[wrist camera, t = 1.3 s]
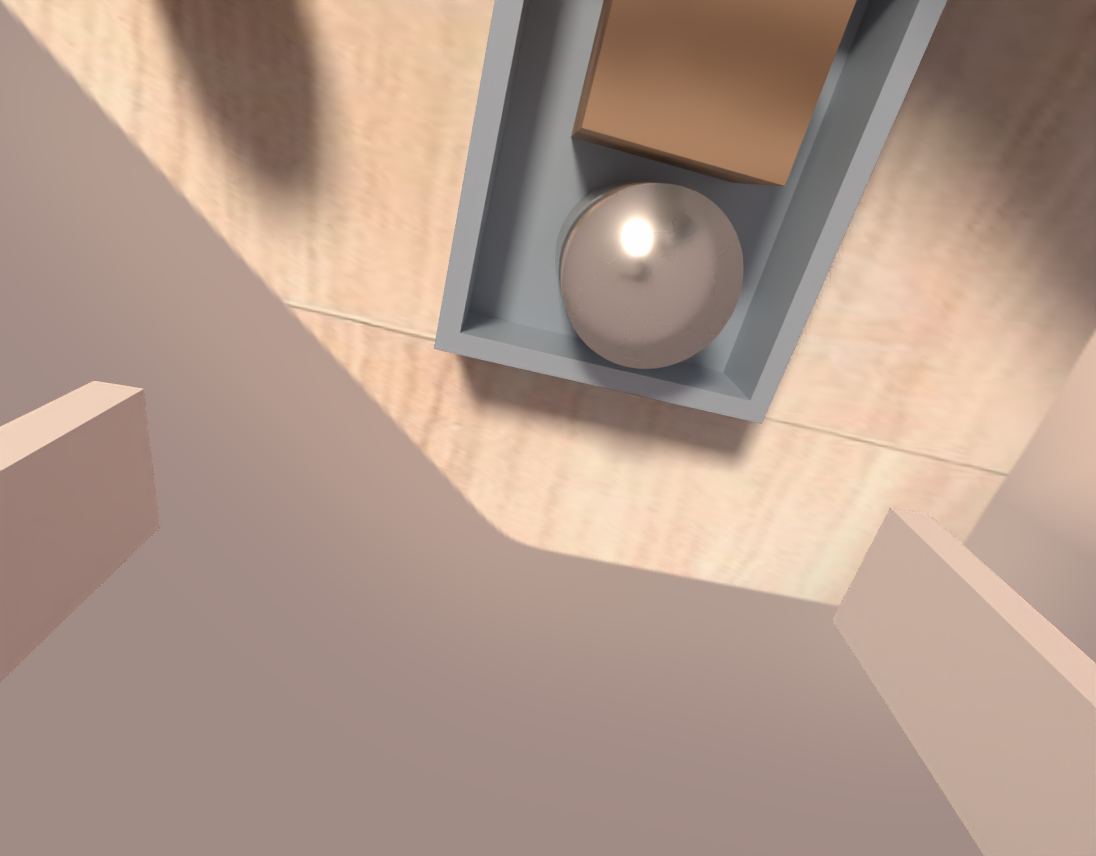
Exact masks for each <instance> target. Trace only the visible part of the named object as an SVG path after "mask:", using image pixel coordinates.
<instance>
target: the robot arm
mask: <svg viewBox="0 0 1096 856" xmlns="http://www.w3.org/2000/svg"><path fill="white" fill-rule="evenodd" d="M159 528H160V525H159V516H158V508H157V499H156V490H155V481H154V473H153V465H152V455H151V447H150V438H149V429H148V421H147V412H146V403H145V394H144V389H142V388H135V387H129V386H123V385H116V384H111V383H104V382H98V381H93V382H91V383H89V384H87V385H85V386H83V387H81V388H79V389H77V390H75V391H72V392H70V393H69V394H66V395H64V396H62V397H60V398H58V399H56V400H54V401H52V402H50V403H48V404H46V405H44V406H42V407H40V408H38V409H36V410H34V411H32V412H30V413H28V414H26V415H23V416H21V417H19V418H17V419H15V420H13V421H11V422H9V423H7V424H5V425H3V426H1V427H0V682H1V681H2V680H3V679H4V678H5V677H6V676H7V675H8V674H9V673H10V672H11V671H12V670H13V669H14V668H15V667H16V666H17V665H18V664H20V662H21V661H23V660H24V659H25V658H26V657H27V656H28V655H29V654H30V653H31V652H32V651H33V650H34V649H35V648H36V647H37V646H38V645H39V644H40V643H41V642H42V641H43V640H44V639H45V638H46V637H47V636H48V635H49V634H51V633H52V632H53V631H54V629H56V628H57V626H59V625H60V624H61V623H62V622H63V621H64V620H65V619H66V618H67V617H68V616H69V615H70V614H71V613H72V612H73V611H74V610H75V609H76V608H77V607H78V606H79V605H81V604H82V603H83V602H84V601H85V600H86V599H87V598H88V597H89V596H90V595H91V594H92V593H93V592H94V591H95V590H96V589H97V588H98V587H99V586H100V585H101V584H102V583H103V582H104V581H105V580H106V579H107V578H108V577H110V576H111V574H113V573H114V572H115V571H116V570H117V569H118V568H119V567H120V566H121V565H122V564H123V563H124V562H125V561H126V560H127V559H128V558H129V557H130V556H131V555H132V554H133V553H134V552H135V551H136V550H137V549H138V548H139V547H141V546H142V544H144V543H145V542H146V541H147V540H148V539H149V538H150V537H151V536H152V535H153V534H154V533H155V532H156V531H157V530H158V529H159ZM832 621H833V623H834V624H835V626H836V627H837V629H838V631H839V632H840V634H841V635H842V637H843V638H844V640H845V641H846V643H847V645H848V646H849V648H850V649H851V651H852V652H853V654H854V655H855V657H856V658H857V660H858V662H859V663H860V665H861V666H862V667H863V669H864V671H865V672H866V674H867V675H868V677H869V678H870V680H871V681H872V683H873V685H874V686H875V688H876V689H877V691H878V692H879V694H880V695H881V697H882V698H883V700H884V702H885V703H886V705H887V706H888V708H889V709H890V711H891V712H892V714H893V716H894V717H895V719H896V720H897V722H898V723H899V725H900V726H901V728H902V729H903V731H904V733H905V734H906V736H907V737H908V739H909V740H910V742H911V743H912V745H913V746H914V748H915V750H916V751H917V753H918V754H919V755H920V757H921V759H922V760H923V762H924V763H925V765H926V767H927V768H928V770H929V771H930V773H931V774H932V776H933V777H934V779H935V780H936V782H937V783H938V785H939V786H940V788H941V790H942V791H943V793H944V794H945V796H946V797H947V799H948V800H949V802H950V804H951V805H952V806H953V808H954V809H955V811H956V813H957V814H958V816H959V817H960V819H961V821H962V822H963V824H964V825H965V827H966V828H967V830H968V831H969V833H970V834H971V836H972V837H973V839H974V841H975V842H976V844H977V845H978V847H979V848H980V850H981V851H982V853H983V855H984V856H1096V663H1095V662H1094V661H1093V660H1091V659H1090V658H1089V657H1088V656H1087V655H1086V654H1085V653H1083V652H1082V651H1081V650H1080V649H1079V648H1078V647H1077V646H1076V645H1075V644H1074V643H1072V642H1071V641H1070V640H1069V639H1068V638H1067V637H1066V636H1065V635H1063V634H1062V633H1061V632H1060V631H1059V630H1058V629H1057V628H1056V627H1055V626H1053V625H1052V624H1051V623H1050V622H1049V621H1048V620H1047V619H1046V618H1044V617H1043V616H1042V615H1041V614H1040V613H1039V612H1038V611H1037V610H1035V609H1034V608H1033V607H1032V606H1031V605H1030V604H1029V603H1028V602H1026V601H1025V600H1024V599H1023V598H1022V597H1021V596H1020V595H1019V594H1018V593H1016V592H1015V591H1014V590H1013V589H1012V588H1011V587H1010V586H1009V585H1007V584H1006V583H1005V582H1004V581H1003V580H1002V579H1001V578H1000V577H998V576H997V575H996V574H995V573H994V572H993V571H992V570H990V569H989V568H988V567H987V566H986V565H985V564H984V563H983V562H982V561H981V560H979V559H978V558H977V557H976V556H975V555H974V554H973V553H972V552H970V551H969V550H968V549H967V548H966V547H965V546H964V545H963V544H961V543H960V542H959V541H958V540H957V539H956V538H955V537H954V536H953V535H951V534H950V533H949V532H948V531H947V530H946V529H945V528H944V527H942V526H941V525H940V524H939V523H938V522H937V521H936V520H935V519H933V518H932V517H931V516H930V515H929V514H926V513H919V512H913V511H907V510H901V509H894V508H890V509H889V511H888V513H887V515H886V517H885V519H884V521H883V523H882V525H881V527H880V529H879V531H878V532H877V534H876V536H875V538H874V540H873V542H872V544H871V546H870V548H869V550H868V552H867V554H866V556H865V558H864V559H863V561H862V563H861V565H860V567H859V569H858V571H857V573H856V575H855V577H854V579H853V581H852V583H851V585H850V587H849V588H848V590H847V592H846V594H845V596H844V598H843V600H842V602H841V604H840V606H839V608H838V610H837V612H836V614H835V615H834V617H833V619H832Z"/></svg>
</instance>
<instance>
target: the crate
mask: <svg viewBox="0 0 1096 856" xmlns="http://www.w3.org/2000/svg"><path fill="white" fill-rule="evenodd" d="M946 2H947V0H856V3H855V6H854V8H853V11H852V13H851V16H850V18H849V21H848V24H847V26H846V29H845V31H844V34H843V37H842V39H841V42H840V44H839V47H838V50H837V52H836V55H835V57H834V60H833V63H832V65H831V68H830V70H829V73H828V76H827V78H826V81H825V83H824V86H823V88H822V91H821V94H820V96H819V99H818V101H817V104H816V107H815V109H814V112H813V114H812V117H811V120H810V122H809V125H808V127H807V130H806V133H805V135H804V138H803V140H802V143H801V146H800V148H799V151H798V153H797V156H796V158H795V161H794V164H793V166H792V169H791V171H790V174H789V177H788V179H787V182H786V184H785V186H776V185H759V184H742V183H732V182H728V181H725V180H721V179H717V178H714V177H710V176H707V175H703V174H700V173H696V172H693V171H689V170H686V169H682V168H679V167H675V166H672V165H668V164H665V163H661V162H658V161H654V160H651V159H647V158H644V157H640V156H637V155H633V154H630V153H626V152H623V151H619V150H616V149H612V148H609V147H605V146H602V145H598V144H594V143H591V142H587V141H584V140H580V139H577V138H573V137H571V135H572V130H573V126H574V122H575V118H576V114H577V109H578V105H579V101H580V97H581V93H582V88H583V84H584V80H585V76H586V72H587V67H588V63H589V59H590V55H591V50H592V46H593V42H594V38H595V34H596V29H597V25H598V21H599V17H600V13H601V8H602V4H603V0H495V2H494V8H493V14H492V19H491V25H490V31H489V37H488V42H487V48H486V54H485V59H484V65H483V71H482V77H481V82H480V88H479V94H478V100H477V105H476V111H475V117H474V122H473V128H472V134H471V140H470V145H469V151H468V157H467V162H466V168H465V174H464V180H463V185H462V191H461V197H460V203H459V208H458V214H457V220H456V225H455V231H454V237H453V243H452V248H451V254H450V260H449V266H448V271H447V277H446V283H445V288H444V294H443V300H442V306H441V311H440V317H439V323H438V329H437V334H436V340H435V346H434V349H437V350H441V351H446V352H450V353H454V354H459V355H463V356H468V357H472V358H476V359H481V360H485V361H489V362H494V363H498V364H503V365H507V366H511V367H516V368H520V369H524V370H529V371H533V372H537V373H542V374H546V375H551V376H555V377H559V378H564V379H568V380H572V381H577V382H581V383H586V384H590V385H594V386H599V387H603V388H607V389H612V390H616V391H621V392H625V393H629V394H634V395H638V396H642V397H647V398H651V399H656V400H660V401H664V402H669V403H673V404H677V405H682V406H686V407H690V408H695V409H699V410H704V411H708V412H712V413H717V414H721V415H725V416H730V417H734V418H739V419H743V420H747V421H752V422H756V423H760V424H762V422H763V419H764V417H765V415H766V413H767V410H768V408H769V406H770V403H771V401H772V399H773V397H774V394H775V392H776V390H777V387H778V385H779V383H780V381H781V378H782V376H783V374H784V372H785V369H786V367H787V365H788V362H789V360H790V358H791V356H792V353H793V351H794V349H795V346H796V344H797V342H798V340H799V337H800V335H801V333H802V331H803V328H804V326H805V324H806V321H807V319H808V317H809V315H810V312H811V310H812V308H813V305H814V303H815V301H816V299H817V296H818V294H819V292H820V289H821V287H822V285H823V283H824V280H825V278H826V276H827V274H828V271H829V269H830V267H831V264H832V262H833V260H834V258H835V255H836V253H837V251H838V248H839V246H840V244H841V242H842V239H843V237H844V235H845V233H846V230H847V228H848V226H849V223H850V221H851V219H852V217H853V214H854V212H855V210H856V207H857V205H858V203H859V201H860V198H861V196H862V194H863V191H864V189H865V187H866V185H867V182H868V180H869V178H870V176H871V173H872V171H873V169H874V166H875V164H876V162H877V160H878V157H879V155H880V153H881V150H882V148H883V146H884V144H885V141H886V139H887V137H888V135H889V132H890V130H891V128H892V125H893V123H894V121H895V119H896V116H897V114H898V112H899V109H900V107H901V105H902V103H903V100H904V98H905V96H906V93H907V91H908V89H909V87H910V84H911V82H912V80H913V78H914V75H915V73H916V71H917V68H918V66H919V64H920V62H921V59H922V57H923V55H924V52H925V50H926V48H927V46H928V43H929V41H930V39H931V37H932V34H933V32H934V30H935V27H936V25H937V23H938V21H939V18H940V16H941V14H942V11H943V9H944V7H945V5H946ZM618 181H642V182H653V183H664V184H673V185H678V186H683V187H686V188H688V189H691V190H694V191H696V192H698V193H700V194H702V195H703V196H705V197H707V198H708V199H709V200H711V201H712V202H713V203H715V204H716V205H717V206H718V207H719V208H720V209H721V210H722V211H723V212H724V214H725V215H726V216H727V218H728V219H729V221H730V222H731V224H732V226H733V228H734V230H735V231H736V234H737V236H738V239H739V242H740V245H741V250H742V255H743V267H744V270H743V282H742V288H741V293H740V296H739V299H738V302H737V305H736V307H735V309H734V312H733V314H732V316H731V317H730V319H729V321H728V322H727V324H726V326H725V327H724V328H723V329H722V331H721V332H720V333H719V335H718V336H717V337H716V338H715V339H714V340H713V341H712V342H711V343H710V344H708V345H707V346H706V347H705V348H704V349H702V350H701V351H700V352H698V353H696V354H695V355H693V356H692V357H690V358H688V359H686V360H684V361H681V362H679V363H676V364H673V365H670V366H666V367H661V368H652V369H637V368H631V367H625V366H622V365H619V364H615V363H613V362H611V361H609V360H607V359H605V358H603V357H602V356H600V355H598V354H597V353H595V352H594V351H593V350H592V349H591V348H589V347H588V346H587V345H586V344H585V342H584V341H583V340H582V339H581V338H580V337H579V335H578V334H577V332H576V331H575V329H574V328H573V326H572V324H571V322H570V320H569V317H568V314H567V311H566V309H565V305H564V301H563V297H562V293H561V289H560V286H559V282H558V278H557V273H556V268H555V248H556V242H557V238H558V235H559V232H560V229H561V227H562V225H563V222H564V220H565V219H566V217H567V216H568V214H569V212H570V211H571V210H572V209H573V207H574V206H575V205H576V204H577V203H578V202H579V201H580V200H581V199H582V198H583V197H585V196H586V195H588V194H589V193H590V192H592V191H594V190H595V189H597V188H599V187H601V186H604V185H607V184H610V183H614V182H618Z"/></svg>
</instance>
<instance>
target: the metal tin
mask: <svg viewBox="0 0 1096 856" xmlns="http://www.w3.org/2000/svg"><path fill="white" fill-rule="evenodd" d="M555 268H556V273H557V278H558V282H559V286H560V289H561V293H562V297H563V301H564V305H565V309H566V311H567V314H568V317H569V320H570V322H571V324H572V326H573V328H574V329H575V331H576V332H577V334H578V335H579V337H580V338H581V339H582V340H583V341H584V342H585V344H586V345H587V346H588V347H589V348H591V349H592V350H593V351H594V352H595V353H597V354H598V355H600V356H602V357H603V358H605V359H607V360H609V361H611V362H613V363H615V364H619V365H622V366H625V367H631V368H637V369H652V368H661V367H666V366H670V365H673V364H676V363H679V362H681V361H684V360H686V359H688V358H690V357H692V356H693V355H695V354H696V353H698V352H700V351H701V350H702V349H704V348H705V347H706V346H707V345H708V344H710V343H711V342H712V341H713V340H714V339H715V338H716V337H717V336H718V335H719V333H720V332H721V331H722V329H723V328H724V327H725V326H726V324H727V322H728V321H729V319H730V317H731V316H732V314H733V312H734V309H735V307H736V305H737V302H738V299H739V296H740V293H741V288H742V282H743V270H744V267H743V255H742V250H741V245H740V242H739V239H738V236H737V234H736V231H735V230H734V228H733V226H732V224H731V222H730V221H729V219H728V218H727V216H726V215H725V214H724V212H723V211H722V210H721V209H720V208H719V207H718V206H717V205H716V204H715V203H713V202H712V201H711V200H709V199H708V198H707V197H705V196H703V195H702V194H700V193H698V192H696V191H694V190H691V189H688V188H686V187H683V186H678V185H673V184H664V183H653V182H642V181H618V182H614V183H610V184H607V185H604V186H601V187H599V188H597V189H595V190H594V191H592V192H590V193H589V194H588V195H586V196H585V197H583V198H582V199H581V200H580V201H579V202H578V203H577V204H576V205H575V206H574V207H573V209H572V210H571V211H570V212H569V214H568V216H567V217H566V219H565V220H564V222H563V225H562V227H561V229H560V232H559V235H558V238H557V242H556V248H555Z"/></svg>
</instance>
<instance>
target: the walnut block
mask: <svg viewBox="0 0 1096 856" xmlns="http://www.w3.org/2000/svg"><path fill="white" fill-rule="evenodd" d="M855 3H856V0H603V4H602V8H601V13H600V17H599V21H598V25H597V29H596V34H595V38H594V42H593V46H592V50H591V55H590V59H589V63H588V67H587V72H586V76H585V80H584V84H583V88H582V93H581V97H580V101H579V105H578V109H577V114H576V118H575V122H574V126H573V130H572V135H571V137H573V138H577V139H580V140H584V141H587V142H591V143H594V144H598V145H602V146H605V147H609V148H612V149H616V150H619V151H623V152H626V153H630V154H633V155H637V156H640V157H644V158H647V159H651V160H654V161H658V162H661V163H665V164H668V165H672V166H675V167H679V168H682V169H686V170H689V171H693V172H696V173H700V174H703V175H707V176H710V177H714V178H717V179H721V180H725V181H728V182H732V183H742V184H759V185H776V186H785V184H786V182H787V179H788V177H789V174H790V171H791V169H792V166H793V164H794V161H795V158H796V156H797V153H798V151H799V148H800V146H801V143H802V140H803V138H804V135H805V133H806V130H807V127H808V125H809V122H810V120H811V117H812V114H813V112H814V109H815V107H816V104H817V101H818V99H819V96H820V94H821V91H822V88H823V86H824V83H825V81H826V78H827V76H828V73H829V70H830V68H831V65H832V63H833V60H834V57H835V55H836V52H837V50H838V47H839V44H840V42H841V39H842V37H843V34H844V31H845V29H846V26H847V24H848V21H849V18H850V16H851V13H852V11H853V8H854V6H855Z"/></svg>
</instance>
